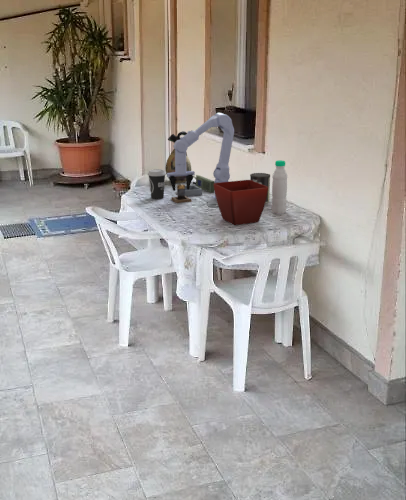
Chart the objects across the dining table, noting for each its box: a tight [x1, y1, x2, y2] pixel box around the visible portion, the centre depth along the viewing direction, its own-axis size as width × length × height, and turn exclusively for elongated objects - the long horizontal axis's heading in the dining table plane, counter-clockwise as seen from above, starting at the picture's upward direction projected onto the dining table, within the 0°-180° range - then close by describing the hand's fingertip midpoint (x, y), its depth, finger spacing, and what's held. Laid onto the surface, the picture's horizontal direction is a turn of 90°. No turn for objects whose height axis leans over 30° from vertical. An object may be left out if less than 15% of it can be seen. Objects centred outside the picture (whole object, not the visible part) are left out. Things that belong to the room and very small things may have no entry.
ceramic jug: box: [164, 130, 195, 184], centre depth 371 cm, size 17×15×30 cm
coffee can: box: [249, 172, 271, 204], centre depth 323 cm, size 10×10×14 cm
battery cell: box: [176, 183, 186, 200], centre depth 326 cm, size 4×4×9 cm
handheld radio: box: [192, 174, 215, 194], centre depth 356 cm, size 7×3×25 cm
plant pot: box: [214, 179, 269, 226], centre depth 286 cm, size 19×19×17 cm
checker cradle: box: [170, 196, 193, 204], centre depth 327 cm, size 9×9×2 cm
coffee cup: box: [147, 168, 167, 200], centre depth 331 cm, size 10×10×15 cm
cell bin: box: [185, 184, 203, 197], centre depth 342 cm, size 12×10×4 cm
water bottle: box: [271, 160, 288, 215], centre depth 300 cm, size 7×7×25 cm
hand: (181, 189), depth 325 cm, fingers open, 7 cm apart
